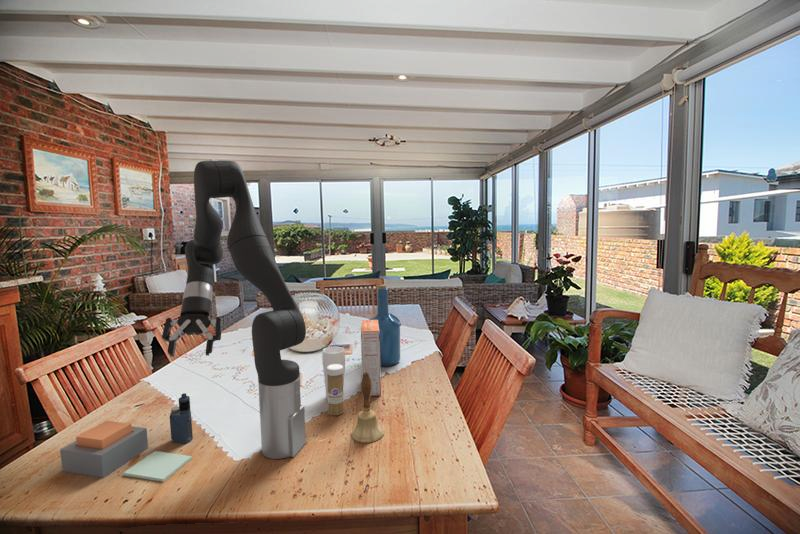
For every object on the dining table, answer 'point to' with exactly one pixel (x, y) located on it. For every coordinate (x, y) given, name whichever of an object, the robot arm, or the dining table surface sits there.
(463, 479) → the dining table surface
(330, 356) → the drinking glass
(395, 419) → the dining table surface
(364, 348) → the cracker box
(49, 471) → the dining table surface
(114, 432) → the button
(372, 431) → the hand bell
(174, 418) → the vaping device
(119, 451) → the box
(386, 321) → the wine bottle
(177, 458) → the pad
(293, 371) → the robot arm
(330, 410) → the sprinkles bottle
